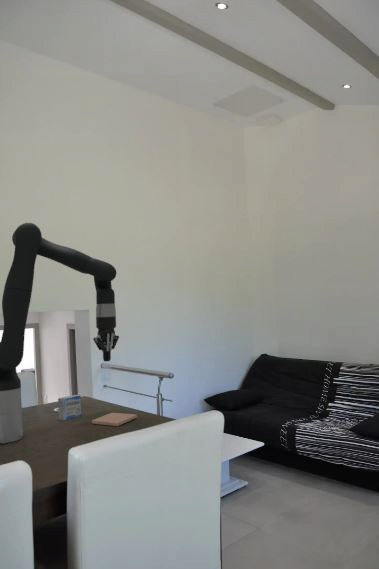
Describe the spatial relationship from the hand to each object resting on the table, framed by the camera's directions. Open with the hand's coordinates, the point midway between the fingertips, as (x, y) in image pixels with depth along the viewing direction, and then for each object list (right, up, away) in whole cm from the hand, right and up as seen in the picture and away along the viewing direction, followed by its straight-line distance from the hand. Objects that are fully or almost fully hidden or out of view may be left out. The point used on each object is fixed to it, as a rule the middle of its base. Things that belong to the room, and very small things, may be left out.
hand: (107, 361), depth 180 cm
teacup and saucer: (-20, -26, +25) cm, 41 cm away
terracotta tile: (+1, -22, -9) cm, 24 cm away
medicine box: (-16, -24, +6) cm, 30 cm away
